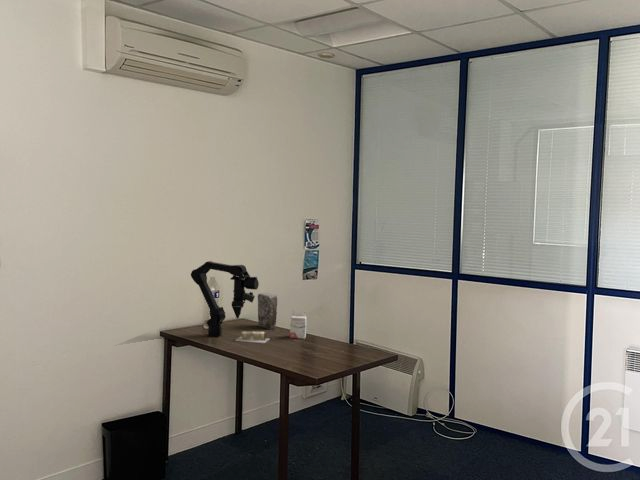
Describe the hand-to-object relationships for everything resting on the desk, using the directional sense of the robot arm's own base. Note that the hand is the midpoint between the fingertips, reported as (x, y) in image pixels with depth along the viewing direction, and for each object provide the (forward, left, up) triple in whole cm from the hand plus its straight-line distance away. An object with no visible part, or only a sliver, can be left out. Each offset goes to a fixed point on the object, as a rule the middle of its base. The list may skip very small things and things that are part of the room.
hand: (238, 316), depth 336 cm
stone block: (+6, +33, -12) cm, 36 cm away
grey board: (+9, -1, -12) cm, 15 cm away
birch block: (+3, -2, -10) cm, 10 cm away
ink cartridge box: (+30, +15, -12) cm, 36 cm away
